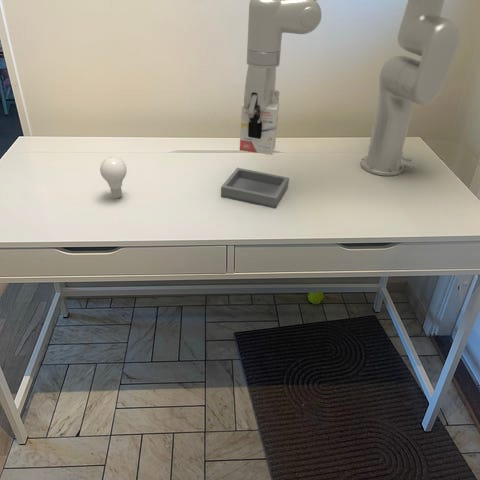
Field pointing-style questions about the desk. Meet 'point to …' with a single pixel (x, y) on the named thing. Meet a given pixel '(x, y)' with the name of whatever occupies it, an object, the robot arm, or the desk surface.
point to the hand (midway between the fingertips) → (258, 132)
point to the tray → (255, 187)
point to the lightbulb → (114, 174)
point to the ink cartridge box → (268, 128)
